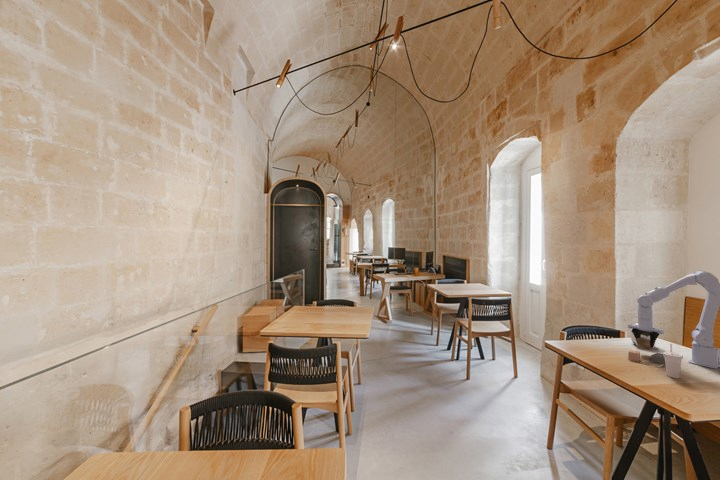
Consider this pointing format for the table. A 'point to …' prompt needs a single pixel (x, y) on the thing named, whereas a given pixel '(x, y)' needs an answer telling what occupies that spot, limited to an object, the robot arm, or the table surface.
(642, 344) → the walnut cube
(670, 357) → the smoothie
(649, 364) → the swatch
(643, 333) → the spread jar
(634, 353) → the terracotta cube
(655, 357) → the plinth
